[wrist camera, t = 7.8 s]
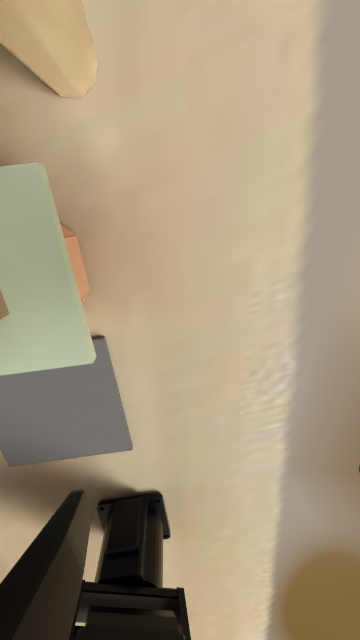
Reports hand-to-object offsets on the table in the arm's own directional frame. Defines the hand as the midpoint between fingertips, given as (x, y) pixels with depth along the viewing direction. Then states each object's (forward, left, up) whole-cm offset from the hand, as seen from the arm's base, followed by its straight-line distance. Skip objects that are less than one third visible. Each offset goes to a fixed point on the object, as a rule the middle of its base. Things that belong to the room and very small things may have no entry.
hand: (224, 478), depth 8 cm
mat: (-5, +12, -12) cm, 18 cm away
